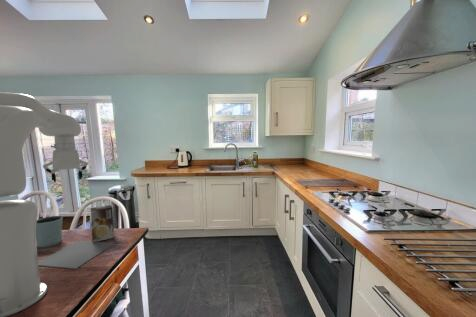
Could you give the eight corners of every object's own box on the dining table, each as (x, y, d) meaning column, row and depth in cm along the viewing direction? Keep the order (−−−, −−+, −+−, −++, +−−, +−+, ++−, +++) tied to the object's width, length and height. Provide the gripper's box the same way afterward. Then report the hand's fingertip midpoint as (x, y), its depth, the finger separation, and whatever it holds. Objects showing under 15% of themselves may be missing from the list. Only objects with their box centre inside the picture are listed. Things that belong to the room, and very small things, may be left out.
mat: (76, 269, 73) (76, 268, 73) (32, 265, 76) (32, 264, 76) (114, 243, 92) (114, 243, 92) (78, 241, 95) (78, 240, 95)
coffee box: (112, 233, 103) (112, 204, 102) (114, 237, 98) (113, 207, 97) (91, 238, 97) (90, 207, 97) (91, 243, 92) (90, 210, 92)
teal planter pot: (32, 245, 92) (30, 221, 91) (59, 236, 101) (57, 214, 100) (40, 250, 87) (38, 225, 86) (68, 240, 96) (66, 217, 95)
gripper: (40, 147, 88) (43, 183, 89) (87, 146, 100) (90, 178, 101) (41, 147, 93) (44, 181, 94) (85, 146, 105) (88, 177, 106)
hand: (67, 180), depth 98 cm, fingers open, 9 cm apart
